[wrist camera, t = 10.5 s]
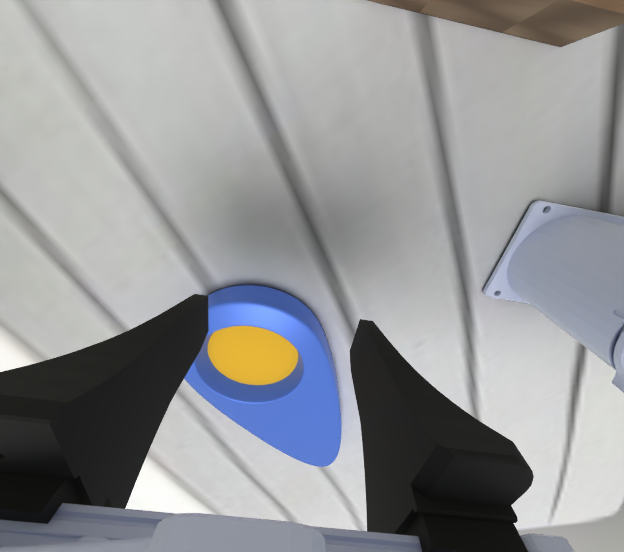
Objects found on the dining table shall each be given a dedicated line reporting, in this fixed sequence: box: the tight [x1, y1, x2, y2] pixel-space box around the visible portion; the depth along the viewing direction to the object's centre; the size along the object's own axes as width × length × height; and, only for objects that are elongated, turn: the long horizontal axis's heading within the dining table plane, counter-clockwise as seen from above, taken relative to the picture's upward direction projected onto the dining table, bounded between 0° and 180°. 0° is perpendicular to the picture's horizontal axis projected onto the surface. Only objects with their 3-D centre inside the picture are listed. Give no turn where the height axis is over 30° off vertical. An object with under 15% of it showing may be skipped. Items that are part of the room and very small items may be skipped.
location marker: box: [184, 285, 341, 467], centre depth 27 cm, size 13×3×25 cm
